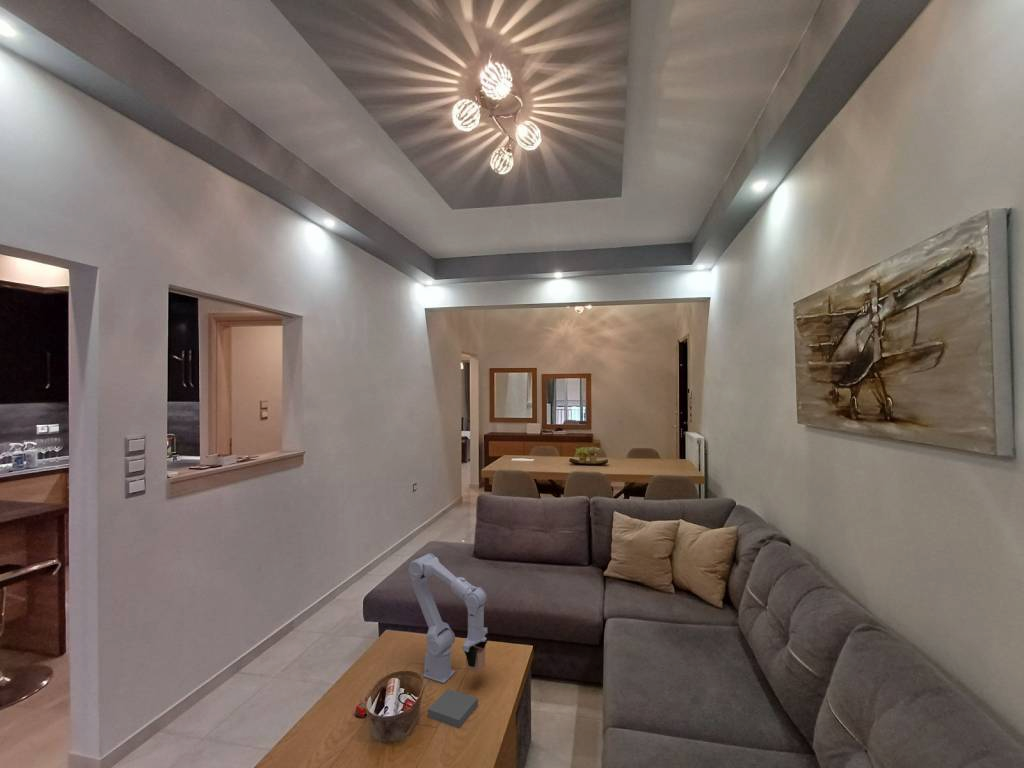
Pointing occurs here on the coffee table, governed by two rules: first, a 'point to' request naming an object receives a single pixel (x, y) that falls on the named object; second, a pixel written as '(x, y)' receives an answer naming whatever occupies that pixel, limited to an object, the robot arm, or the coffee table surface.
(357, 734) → the coffee table surface
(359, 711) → the race car
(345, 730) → the coffee table surface
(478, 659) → the terracotta block
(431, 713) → the charcoal flat pad
